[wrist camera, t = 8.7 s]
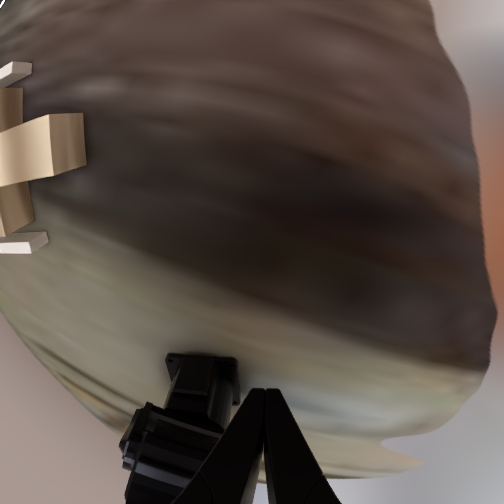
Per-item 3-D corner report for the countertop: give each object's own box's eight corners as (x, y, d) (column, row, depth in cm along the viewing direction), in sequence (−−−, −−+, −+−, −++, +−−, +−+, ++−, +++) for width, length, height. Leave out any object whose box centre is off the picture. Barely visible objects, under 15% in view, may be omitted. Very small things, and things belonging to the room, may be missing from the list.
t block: (83, 63, 16) (50, 56, 12) (93, 216, 20) (63, 235, 17) (-3, 100, 16) (-33, 103, 13) (10, 222, 21) (-18, 237, 17)
